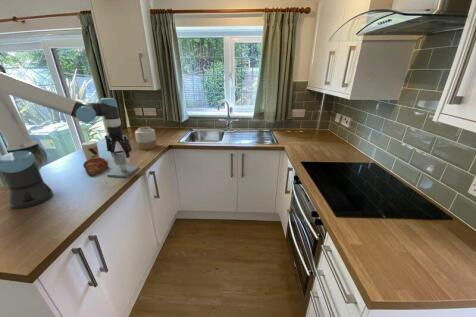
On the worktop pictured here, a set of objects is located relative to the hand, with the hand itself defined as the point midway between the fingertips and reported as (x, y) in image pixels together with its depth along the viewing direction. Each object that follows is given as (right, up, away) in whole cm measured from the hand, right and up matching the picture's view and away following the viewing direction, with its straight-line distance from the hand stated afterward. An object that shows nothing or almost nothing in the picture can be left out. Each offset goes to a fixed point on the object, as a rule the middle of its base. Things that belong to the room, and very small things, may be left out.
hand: (122, 162), depth 127 cm
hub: (0, 0, 0) cm, 0 cm away
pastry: (-20, -5, +6) cm, 21 cm away
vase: (-6, +12, +49) cm, 51 cm away
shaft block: (0, -7, +3) cm, 7 cm away
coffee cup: (-35, +2, +23) cm, 42 cm away
